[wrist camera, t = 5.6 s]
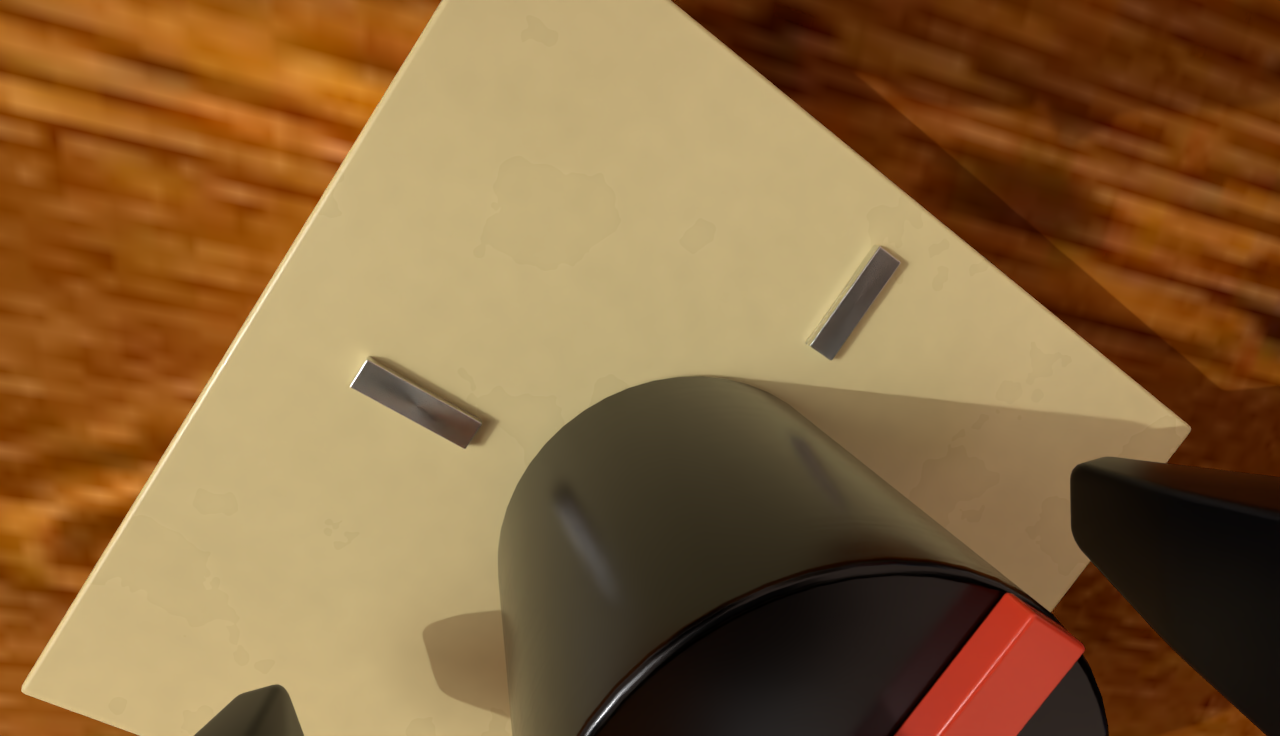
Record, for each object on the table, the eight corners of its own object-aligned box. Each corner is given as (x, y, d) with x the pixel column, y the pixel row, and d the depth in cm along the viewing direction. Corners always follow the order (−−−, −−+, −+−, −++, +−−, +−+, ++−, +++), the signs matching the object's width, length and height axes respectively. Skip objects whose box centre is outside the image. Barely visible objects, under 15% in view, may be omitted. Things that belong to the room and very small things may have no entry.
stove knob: (711, 751, 11) (893, 1184, 6) (423, 611, 9) (390, 1042, 5) (911, 487, 10) (1256, 750, 6) (640, 301, 9) (820, 459, 5)
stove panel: (124, 560, 12) (8, 703, 9) (502, -56, 11) (519, -134, 8) (719, 813, 15) (782, 979, 12) (1047, 370, 14) (1206, 432, 11)
